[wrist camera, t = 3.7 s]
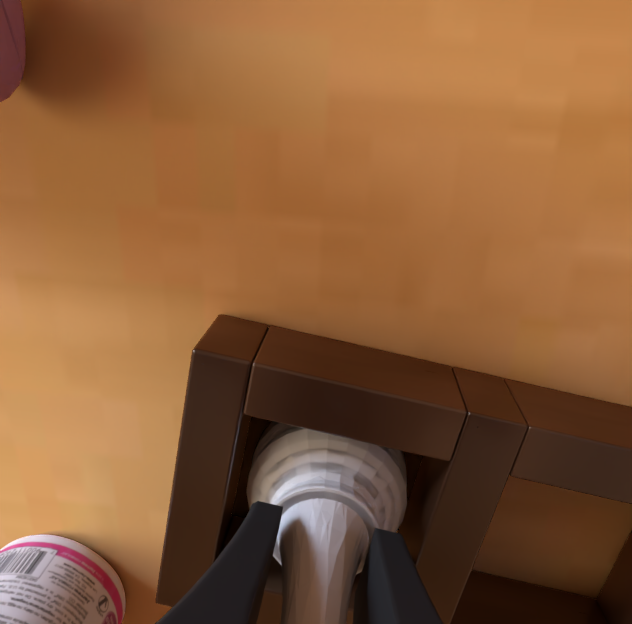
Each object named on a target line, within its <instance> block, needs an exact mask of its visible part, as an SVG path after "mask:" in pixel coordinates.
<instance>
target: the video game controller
mask: <svg viewBox="0 0 632 624" xmlns="http://www.w3.org/2000/svg"><path fill="white" fill-rule="evenodd" d="M25 55H26V37H25V27H24V17H23V10H22V5H21V1H20V0H0V102H2V101H4V100H5V99H7V98H9V97H10V96H11V94H12V93H13V92H14V91H15V89H16V88H17V87H18V86H19V85H20V82H21V80H22V78H23V73H24V67H25Z"/></svg>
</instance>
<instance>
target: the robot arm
mask: <svg viewBox="0 0 632 624" xmlns="http://www.w3.org/2000/svg"><path fill="white" fill-rule="evenodd" d="M282 511H283V506H278V505H274V504H270V503H265V502H261V501H257V502H255V503H253V504H252V506H251V508H250V510H249V512H248V514H247V516H246V518H245V520H244V521H243V523H242V524H241V526H240V528H239V529H238V531H237V532H236V534H235V535H234V536H233V538H232V539H231V541H230V542H229V543H228V545H227V546H226V547H225V549H224V550H223V551H222V553H221V554H220V555H219V556H218V558H217V559H216V560H215V562H214V563H213V564H212V565H211V566H210V568H209V569H208V570H207V571H206V572H205V573H204V574H203V576H202V577H201V578H200V579H199V580H198V581H197V582H196V584H195V585H194V586H193V587H192V588H191V589H190V590H189V591H188V592H187V593H186V594H185V595H184V596H183V597H182V599H181V600H180V601H179V602H178V603H177V604H176V605H175V606H173V607H172V608H171V609H170V610H169V611H168V612H167V613H166V614H165V615H164V616H163V617H162V618H161V619H160V620H159V621H158V622H156V623H155V624H256V623H257V620H258V616H259V612H260V607H261V603H262V599H263V595H264V590H265V586H266V582H267V578H268V573H269V569H270V565H271V560H272V556H273V552H274V548H275V543H276V539H277V535H278V531H279V526H280V521H281V516H282ZM353 624H443V622H442V620H441V618H440V616H439V614H438V612H437V610H436V608H435V606H434V604H433V603H432V601H431V599H430V597H429V595H428V592H427V590H426V588H425V586H424V584H423V582H422V580H421V577H420V575H419V573H418V571H417V569H416V566H415V564H414V562H413V559H412V557H411V555H410V552H409V550H408V547H407V545H406V543H405V540H404V538H403V536H402V535H401V534H400V533H395V532H391V531H387V530H382V529H378V528H375V530H374V534H373V537H372V540H371V543H370V547H369V550H368V553H367V556H366V560H365V563H364V566H363V569H362V573H361V576H360V579H359V582H358V585H357V589H356V592H355V599H354V611H353Z"/></svg>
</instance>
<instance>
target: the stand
mask: <svg viewBox="0 0 632 624" xmlns="http://www.w3.org/2000/svg"><path fill="white" fill-rule="evenodd" d="M251 416H252V417H257V418H261V419H265V420H270V421H274V422H278V423H283V424H287V425H291V426H296V427H300V428H304V429H309V430H313V431H318V432H322V433H326V434H331V435H335V436H339V437H344V438H348V439H352V440H357V441H361V442H365V443H370V444H374V445H379V446H383V447H387V448H392V449H396V450H400V451H405V452H409V453H413V454H418V455H422V456H423V458H422V461H421V464H420V467H419V470H418V473H417V477H416V480H415V483H414V486H413V489H412V492H411V495H410V498H409V501H408V504H407V507H406V511H405V515H404V518H403V522H402V523H401V525H400V528H399V531H398V533H400V534H401V535H402V536H403V538H404V540H405V543H406V545H407V547H408V550H409V552H410V555H411V557H412V559H413V562H414V564H415V566H416V569H417V571H418V573H419V575H420V577H421V580H422V582H423V584H424V586H425V588H426V590H427V592H428V595H429V597H430V599H431V601H432V603H433V604H434V606H435V608H436V610H437V612H438V614H439V616H440V618H441V620H442V622H443V624H632V531H631V533H630V535H629V537H628V539H627V541H626V543H625V545H624V547H623V549H622V551H621V553H620V555H619V557H618V559H617V561H616V563H615V564H614V566H613V568H612V570H611V572H610V574H609V576H608V578H607V580H606V582H605V584H604V586H603V588H602V590H601V592H600V594H599V596H598V598H597V600H595V599H593V598H589V597H585V596H580V595H576V594H572V593H567V592H563V591H559V590H554V589H550V588H546V587H541V586H537V585H533V584H528V583H524V582H520V581H515V580H511V579H507V578H502V577H498V576H494V575H489V574H485V573H481V572H477V571H472V567H473V565H474V562H475V559H476V557H477V554H478V552H479V549H480V547H481V544H482V542H483V539H484V537H485V534H486V532H487V529H488V527H489V524H490V522H491V519H492V517H493V514H494V511H495V509H496V506H497V504H498V501H499V499H500V496H501V494H502V491H503V489H504V486H505V484H506V481H507V479H508V476H509V474H510V475H511V476H512V477H517V478H521V479H525V480H530V481H534V482H538V483H543V484H547V485H551V486H556V487H560V488H565V489H569V490H573V491H578V492H582V493H586V494H591V495H595V496H599V497H604V498H608V499H612V500H617V501H621V502H626V503H630V504H632V408H631V407H627V406H623V405H618V404H614V403H609V402H605V401H601V400H596V399H592V398H588V397H583V396H579V395H574V394H570V393H566V392H561V391H557V390H552V389H548V388H544V387H539V386H535V385H531V384H526V383H522V382H517V381H513V380H509V379H504V380H503V379H502V378H500V377H495V376H491V375H487V374H482V373H478V372H474V371H469V370H465V369H460V368H456V367H453V368H451V367H450V366H446V365H442V364H438V363H433V362H429V361H424V360H420V359H416V358H411V357H407V356H402V355H398V354H394V353H389V352H385V351H381V350H376V349H372V348H367V347H363V346H359V345H354V344H350V343H346V342H341V341H337V340H332V339H328V338H324V337H319V336H315V335H310V334H306V333H302V332H297V331H293V330H289V329H284V328H280V327H275V326H270V327H269V328H268V325H266V324H261V323H257V322H253V321H248V320H244V319H240V318H235V317H231V316H226V315H222V314H221V315H218V317H217V318H216V319H215V321H214V322H213V323H212V325H211V326H210V327H209V329H208V330H207V331H206V333H205V334H204V335H203V337H202V338H201V339H200V341H199V342H198V343H197V345H196V346H195V347H194V349H193V350H192V355H191V362H190V369H189V376H188V382H187V389H186V396H185V403H184V410H183V416H182V423H181V430H180V437H179V444H178V450H177V457H176V464H175V471H174V478H173V484H172V491H171V498H170V505H169V512H168V518H167V525H166V532H165V539H164V546H163V553H162V559H161V566H160V573H159V580H158V587H157V593H156V603H157V604H160V605H165V606H169V607H173V606H175V605H176V604H177V603H178V602H179V601H180V600H181V599H182V597H183V596H184V595H185V594H186V593H187V592H188V591H189V590H190V589H191V588H192V587H193V586H194V585H195V584H196V582H197V581H198V580H199V579H200V578H201V577H202V576H203V574H204V573H205V572H206V571H207V570H208V569H209V568H210V566H211V565H212V564H213V563H214V562H215V560H216V559H217V558H218V556H219V555H220V554H221V553H222V551H223V550H224V549H225V547H226V546H227V545H228V543H229V542H230V541H231V539H232V538H233V536H234V535H235V534H236V532H237V531H238V529H239V528H240V526H241V524H242V523H243V521H244V520H245V518H242V517H237V516H233V517H232V512H233V507H234V502H235V497H236V492H237V487H238V482H239V476H240V471H241V466H242V461H243V456H244V451H245V446H246V441H247V436H248V431H249V425H250V420H251ZM231 517H232V518H231ZM361 573H362V572H360V573H358V574H356V576H355V579H354V583H353V586H352V591H351V596H350V601H349V606H348V611H347V621H346V624H353V611H354V599H355V592H356V589H357V585H358V582H359V579H360V576H361ZM282 602H283V574H282V566H281V565H280V563H279V562H278V561H277V560H276V559H275V558H274V557H273V556H272V560H271V565H270V569H269V573H268V578H267V582H266V586H265V590H264V595H263V599H262V603H261V607H260V612H259V616H258V620H257V623H256V624H280V622H281V612H282Z"/></svg>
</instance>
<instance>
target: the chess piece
mask: <svg viewBox="0 0 632 624" xmlns="http://www.w3.org/2000/svg"><path fill="white" fill-rule="evenodd" d="M406 488H407V476H406V463H405V457H404V455H403V452H402V451H400V450H396V449H392V448H387V447H383V446H379V445H374V444H370V443H365V442H361V441H357V440H352V439H348V438H344V437H339V436H335V435H331V434H326V433H322V432H318V431H313V430H309V429H304V428H300V427H296V426H291V425H287V424H283V423H278V422H274V421H273V422H272V423H271V424H270V425H269V426H268V427H267V428H266V429H265V430H264V432H263V433H262V436H261V438H260V440H259V442H258V444H257V446H256V448H255V451H254V454H253V458H252V465H251V470H250V473H249V477H248V484H247V491H246V492H247V498H248V504H249V509H250V508H251V506H252V504H253V503H255V502H257V501H261V502H265V503H270V504H274V505H278V506H283V511H282V516H281V521H280V526H279V531H278V535H277V539H276V543H275V548H274V552H273V557H274V558H275V559H276V560H277V561H278V562H279V563H280V565H281V566H282V574H283V602H282V612H281V622H280V624H346V621H347V611H348V606H349V601H350V596H351V591H352V586H353V583H354V579H355V576H356V574H358V573H360V572H362V569H363V566H364V563H365V560H366V556H367V553H368V550H369V547H370V543H371V540H372V537H373V534H374V530H375V528H378V529H382V530H387V531H391V532H395V533H396V531H397V530H398V528H399V526H400V525H401V523H402V522H403V518H404V515H405V511H406V507H407V491H406Z"/></svg>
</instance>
